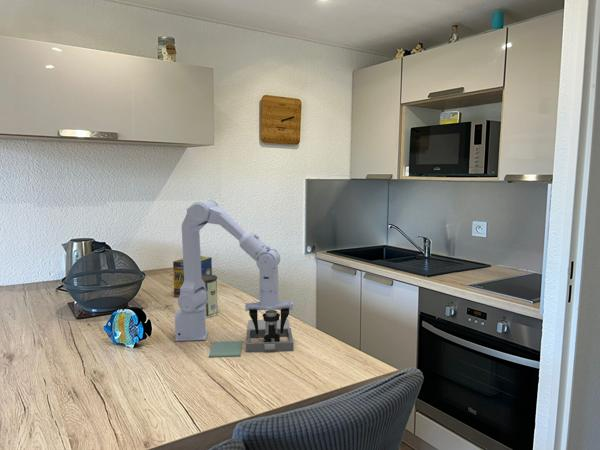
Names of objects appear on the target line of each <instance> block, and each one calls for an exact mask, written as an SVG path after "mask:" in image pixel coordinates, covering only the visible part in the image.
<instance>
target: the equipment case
mask: <svg viewBox="0 0 600 450" xmlns="http://www.w3.org/2000/svg"><path fill="white" fill-rule="evenodd" d="M268 324H269V323H268ZM280 324H281V318H279V320H278V321H277V332H278V333H277V334H279V335H280V338H281V337H283V338H284V337H287V339H288V341H280V342H263V341H257V342H251V339H252V338H263V336H264V335H265V333H266V321H264V319H258V334H256V330H255V326H254V323H253V321H252V319H250V320H249V319H248V321H247V330H246V338H245V339H246V340H245V352H246V353H262V352H266V353H267V352H290V351H291V352H293V351H294V337H293V333H292V328H291V326H290V319H289V318H287V319H286V322H285V324H284V328H283V333H280Z"/></svg>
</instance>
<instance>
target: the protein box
mask: <svg viewBox="0 0 600 450" xmlns="http://www.w3.org/2000/svg"><path fill="white" fill-rule="evenodd" d="M200 256H201V255H200ZM212 259H213V257H211V256H203V255H202V256H201V274H210V275H213V270H212V269H213V267H212V264H213V263H212ZM172 266H173V268H172V269H173V270H172V271H173V272H172V273H173V296H174V298H179V296H180V288H181V286H182V284H183V282H184V266H183V258H180V259H178V260H173V261H172Z"/></svg>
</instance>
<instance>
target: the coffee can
mask: <svg viewBox="0 0 600 450" xmlns="http://www.w3.org/2000/svg"><path fill="white" fill-rule="evenodd" d="M201 278H202V280H203V281H204V282H205V288H206V290H207V292H208V300H207V302H206V303H205V319H206V318H208V319H209V318H212V317H215V316H217V315H218V313H219V312H218V311H219V310H218V281H217V279H218V276H217V275H215V274H212V275H210V274H201Z"/></svg>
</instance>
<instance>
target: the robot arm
mask: <svg viewBox="0 0 600 450" xmlns="http://www.w3.org/2000/svg"><path fill="white" fill-rule="evenodd" d="M207 224H211V225H219V226H221V227H222V229H224V230H226V232H228V233H229V234H230V235H231V236H233V237H234V238H235V239H237V240H238V242H239V248H241V249H242V251H244V252H245V253H246V254H247V255H248V256H250V258H252V259H253V260H254V261H255V263H256V266H257V268H258V269H259V301H255V302H248V303H244V304H245V305H244V310H245V312H248V315H249V317H250V320H252V321H253V323H254V326H255V330H256V334H258V320H259V318H258V315H259V314H258V311H268V310H275V311H278V310H280V319H281V324H280V333H283V328H284V324H285V322H286V319H288V317H289V315H290V311H293V310H294V303H293V301H292V302H291V301H279V266H278V265H280V262H281V255H280V253H279V252H278V250H276V249H275V248H271V246H269V245H266V243H265V242H263V241H262V240H261V239H260V235H258V234H257V233H255V234H254V233H253V232H246V230H244V229H243V227H241V225H240V224H239V223H238V222H236V221H235V219H233V217H231V215H230V214H229V213H227V211H226V210H225V208H224V207H222V206H221V205H219V204H218V202H217V201H215V200H211V199H210V200H207V201H196V202H193V203H192V204H191V205H190V206H189V207H188V208H186V214H185V216H184V219H183V221H182V223H181V242H182V243H181V245H182V259H183V266H184V282H183V284H182V286H181V288H180V296H179V297H177V305H178V307H179V309H177V310H175V314H174V335H175V338H174V341H176V342H181V341H183V342H184V341H185V342H187V341H206V339H207V336H208V334H209V330H207V328H206V325H207V324H206V323H207V321H206V318H205V303H206V302H207V300H208V292H207V290H206V288H205V282H204V281H203V280H202V278H201V238H200V236H201V235H200V231H201V230H202V229H203V228H204V227H205V226H206V225H207Z"/></svg>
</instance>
